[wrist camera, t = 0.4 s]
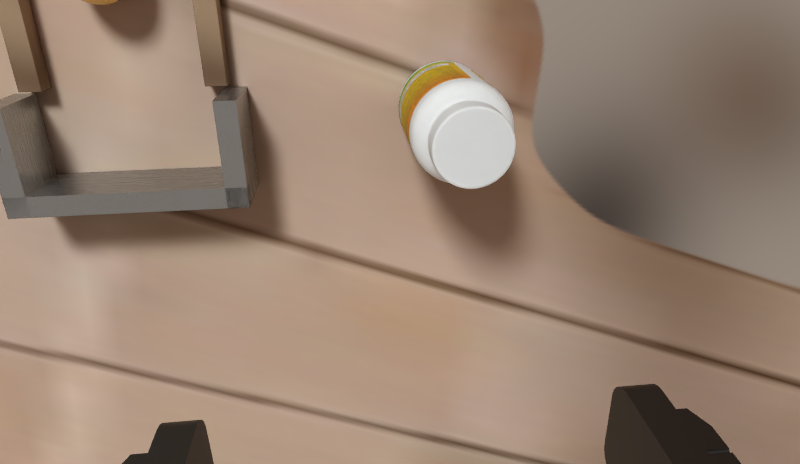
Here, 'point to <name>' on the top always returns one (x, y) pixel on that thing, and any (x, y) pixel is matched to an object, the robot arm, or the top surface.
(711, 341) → the top surface
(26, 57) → the lane
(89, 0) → the ball
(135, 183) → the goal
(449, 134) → the supplement bottle
